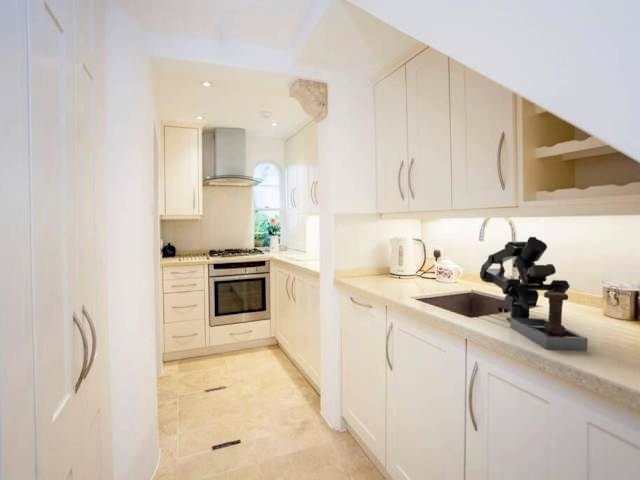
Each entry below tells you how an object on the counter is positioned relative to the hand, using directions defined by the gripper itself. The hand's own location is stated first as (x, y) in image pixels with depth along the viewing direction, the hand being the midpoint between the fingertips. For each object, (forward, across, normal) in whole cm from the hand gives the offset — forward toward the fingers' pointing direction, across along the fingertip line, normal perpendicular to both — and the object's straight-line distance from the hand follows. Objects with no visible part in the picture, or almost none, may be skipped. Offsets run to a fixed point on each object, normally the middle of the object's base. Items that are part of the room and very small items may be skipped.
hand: (543, 309), depth 103 cm
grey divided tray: (+7, 0, +5) cm, 9 cm away
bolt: (+10, 0, +2) cm, 11 cm away
